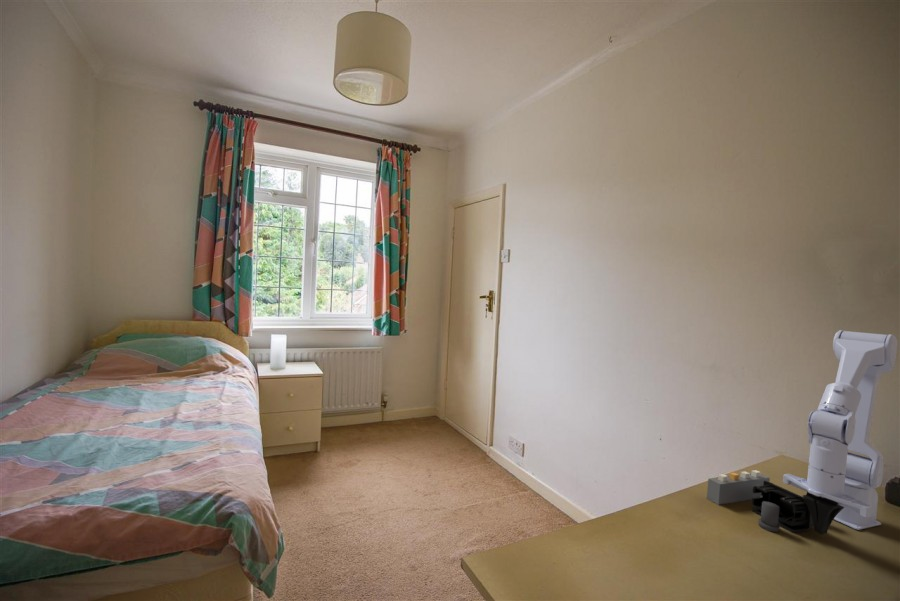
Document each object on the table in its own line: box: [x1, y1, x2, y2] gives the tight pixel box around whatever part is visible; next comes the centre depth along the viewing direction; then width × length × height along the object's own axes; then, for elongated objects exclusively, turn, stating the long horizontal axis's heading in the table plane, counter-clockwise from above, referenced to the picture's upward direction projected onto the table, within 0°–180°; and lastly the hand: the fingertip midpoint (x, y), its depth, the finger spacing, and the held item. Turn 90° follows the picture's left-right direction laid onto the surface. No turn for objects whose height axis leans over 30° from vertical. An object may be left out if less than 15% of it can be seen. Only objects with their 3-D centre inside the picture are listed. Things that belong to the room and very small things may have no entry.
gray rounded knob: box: [757, 501, 781, 533], centre depth 89 cm, size 4×4×5 cm
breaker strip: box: [706, 469, 771, 505], centre depth 102 cm, size 18×3×6 cm, turn 110°
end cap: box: [751, 481, 814, 534], centre depth 92 cm, size 10×7×7 cm
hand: (820, 532), depth 86 cm, fingers closed
